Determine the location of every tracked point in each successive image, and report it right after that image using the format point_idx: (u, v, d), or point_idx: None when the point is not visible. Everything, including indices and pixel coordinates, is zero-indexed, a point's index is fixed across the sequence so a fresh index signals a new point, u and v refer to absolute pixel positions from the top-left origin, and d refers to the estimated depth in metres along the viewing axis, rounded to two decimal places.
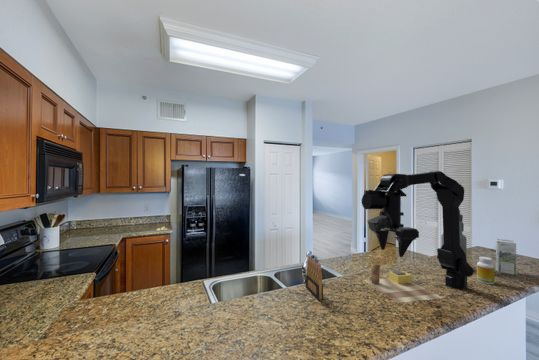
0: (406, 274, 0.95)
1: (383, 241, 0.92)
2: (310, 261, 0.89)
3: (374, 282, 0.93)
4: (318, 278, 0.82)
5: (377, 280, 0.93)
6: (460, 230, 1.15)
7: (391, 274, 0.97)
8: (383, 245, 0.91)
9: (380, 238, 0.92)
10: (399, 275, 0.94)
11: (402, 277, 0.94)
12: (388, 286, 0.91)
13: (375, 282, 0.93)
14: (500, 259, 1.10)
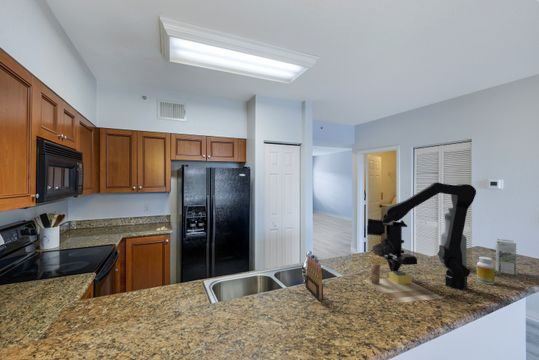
0: (406, 274, 0.95)
1: None
2: (310, 261, 0.89)
3: (374, 282, 0.93)
4: (318, 278, 0.82)
5: (377, 280, 0.93)
6: None
7: (391, 274, 0.97)
8: None
9: (391, 264, 1.00)
10: (399, 275, 0.94)
11: (402, 277, 0.94)
12: (388, 286, 0.91)
13: (375, 282, 0.93)
14: (500, 259, 1.10)
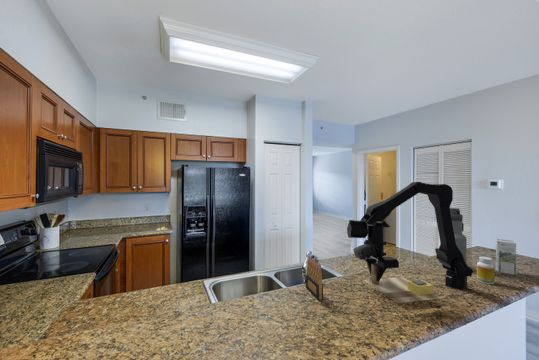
0: (427, 284, 0.86)
1: None
2: (310, 261, 0.89)
3: (374, 282, 0.93)
4: (318, 278, 0.82)
5: None
6: (460, 230, 1.15)
7: (410, 284, 0.88)
8: None
9: (370, 266, 0.96)
10: (420, 285, 0.85)
11: (423, 288, 0.85)
12: (388, 286, 0.91)
13: (375, 282, 0.93)
14: (500, 259, 1.10)
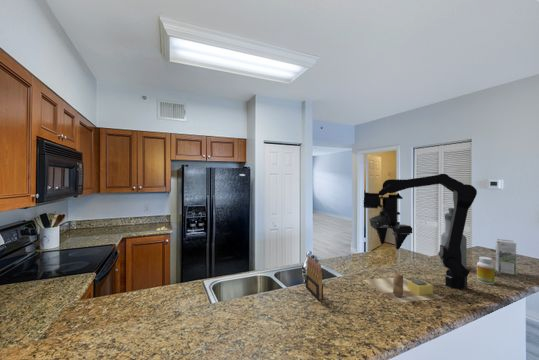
0: (427, 284, 0.86)
1: (382, 236, 1.07)
2: (310, 261, 0.89)
3: (397, 295, 0.83)
4: (318, 278, 0.82)
5: (400, 293, 0.82)
6: None
7: (410, 284, 0.88)
8: (382, 240, 1.07)
9: (380, 234, 1.07)
10: (420, 285, 0.85)
11: (423, 288, 0.85)
12: (388, 286, 0.91)
13: (398, 295, 0.83)
14: (500, 259, 1.10)
